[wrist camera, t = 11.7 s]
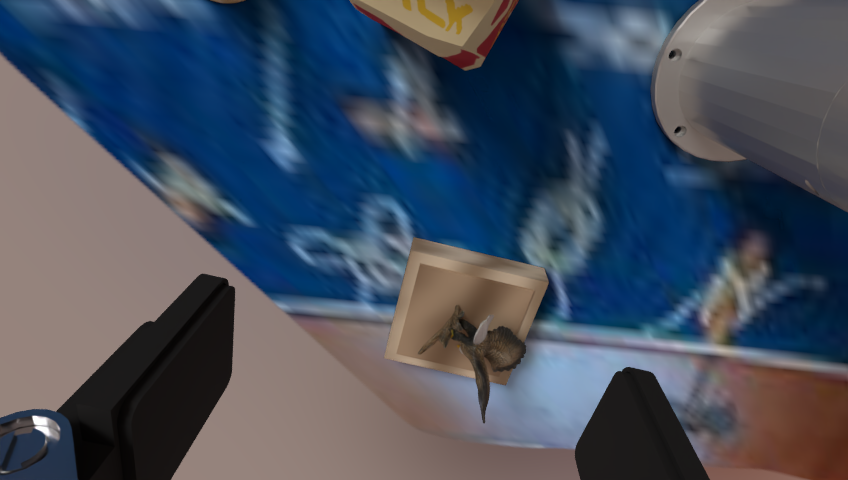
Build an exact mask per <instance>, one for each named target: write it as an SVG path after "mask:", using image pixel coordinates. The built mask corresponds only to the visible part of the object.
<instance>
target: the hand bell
mask: <svg viewBox="0 0 848 480" xmlns="http://www.w3.org/2000/svg"><path fill="white" fill-rule="evenodd" d="M211 1H215V2H219V3H237V2H241V1H245V0H211Z"/></svg>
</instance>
